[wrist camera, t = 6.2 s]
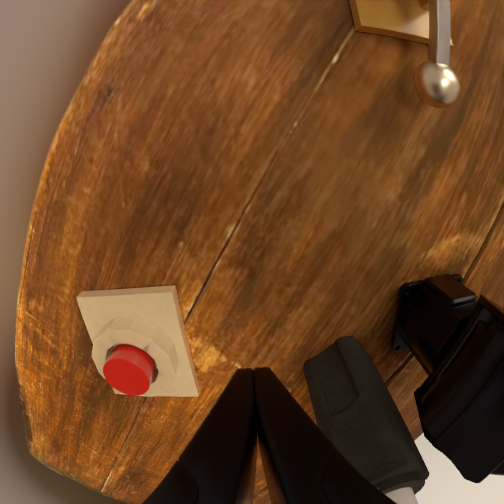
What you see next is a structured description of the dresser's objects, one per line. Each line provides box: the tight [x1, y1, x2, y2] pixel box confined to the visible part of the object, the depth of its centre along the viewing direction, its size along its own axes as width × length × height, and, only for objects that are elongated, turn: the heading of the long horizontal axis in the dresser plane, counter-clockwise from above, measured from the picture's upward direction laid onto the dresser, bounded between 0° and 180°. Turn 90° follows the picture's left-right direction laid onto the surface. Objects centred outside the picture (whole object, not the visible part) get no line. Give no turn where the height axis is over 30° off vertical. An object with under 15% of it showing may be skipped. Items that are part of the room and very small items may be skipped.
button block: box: [76, 285, 200, 397], centre depth 21 cm, size 10×8×3 cm
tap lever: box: [413, 0, 460, 108], centre depth 10 cm, size 13×3×3 cm, turn 6°
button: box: [103, 344, 155, 396], centre depth 19 cm, size 4×4×2 cm
